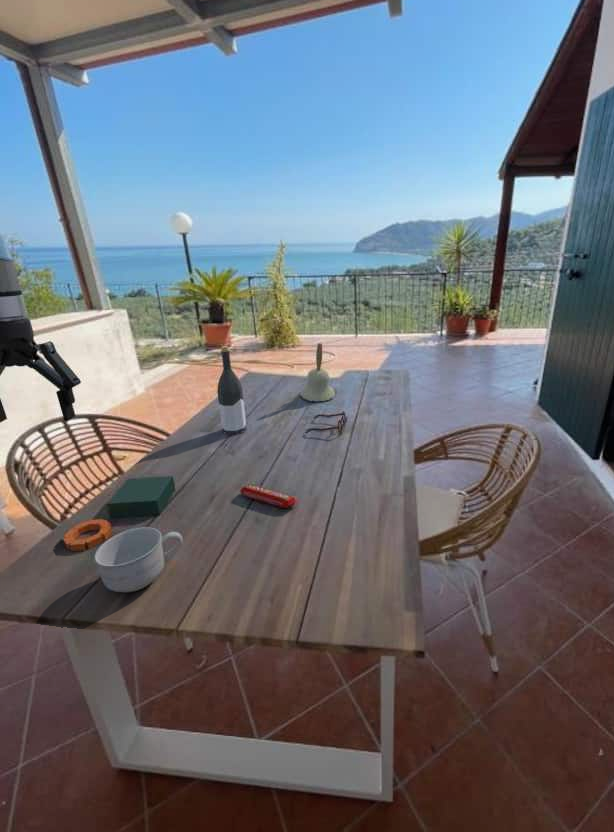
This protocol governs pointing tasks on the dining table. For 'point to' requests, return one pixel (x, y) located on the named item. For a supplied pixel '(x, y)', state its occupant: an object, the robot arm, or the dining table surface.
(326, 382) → the handbell
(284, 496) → the candy bar
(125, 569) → the teacup
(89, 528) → the ring
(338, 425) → the glasses
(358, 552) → the dining table surface
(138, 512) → the block
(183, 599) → the dining table surface
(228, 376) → the wine bottle
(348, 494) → the dining table surface
